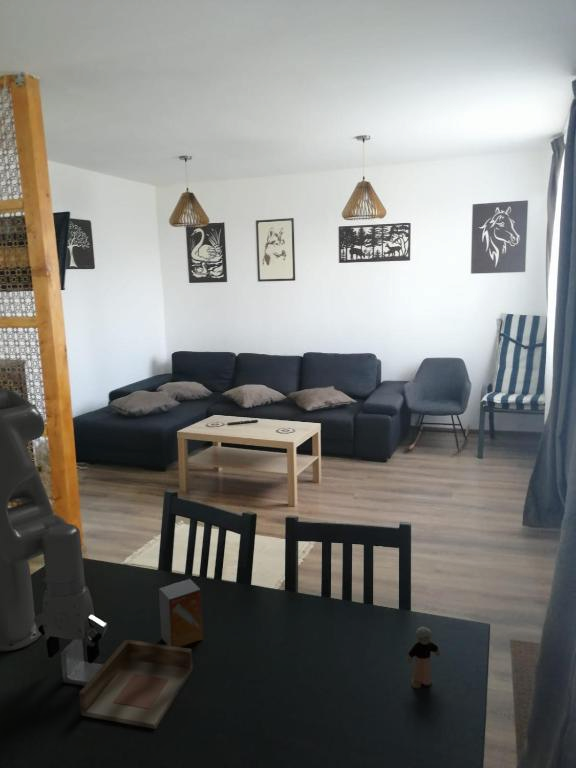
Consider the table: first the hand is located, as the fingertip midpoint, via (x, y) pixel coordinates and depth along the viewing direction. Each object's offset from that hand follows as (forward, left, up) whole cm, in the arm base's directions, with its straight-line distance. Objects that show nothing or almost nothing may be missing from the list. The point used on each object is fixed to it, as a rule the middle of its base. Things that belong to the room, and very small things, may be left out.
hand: (73, 656), depth 131 cm
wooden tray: (+16, -2, -4) cm, 17 cm away
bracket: (+2, 0, -4) cm, 5 cm away
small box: (+17, +17, -4) cm, 25 cm away
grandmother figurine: (+73, +14, -4) cm, 75 cm away
